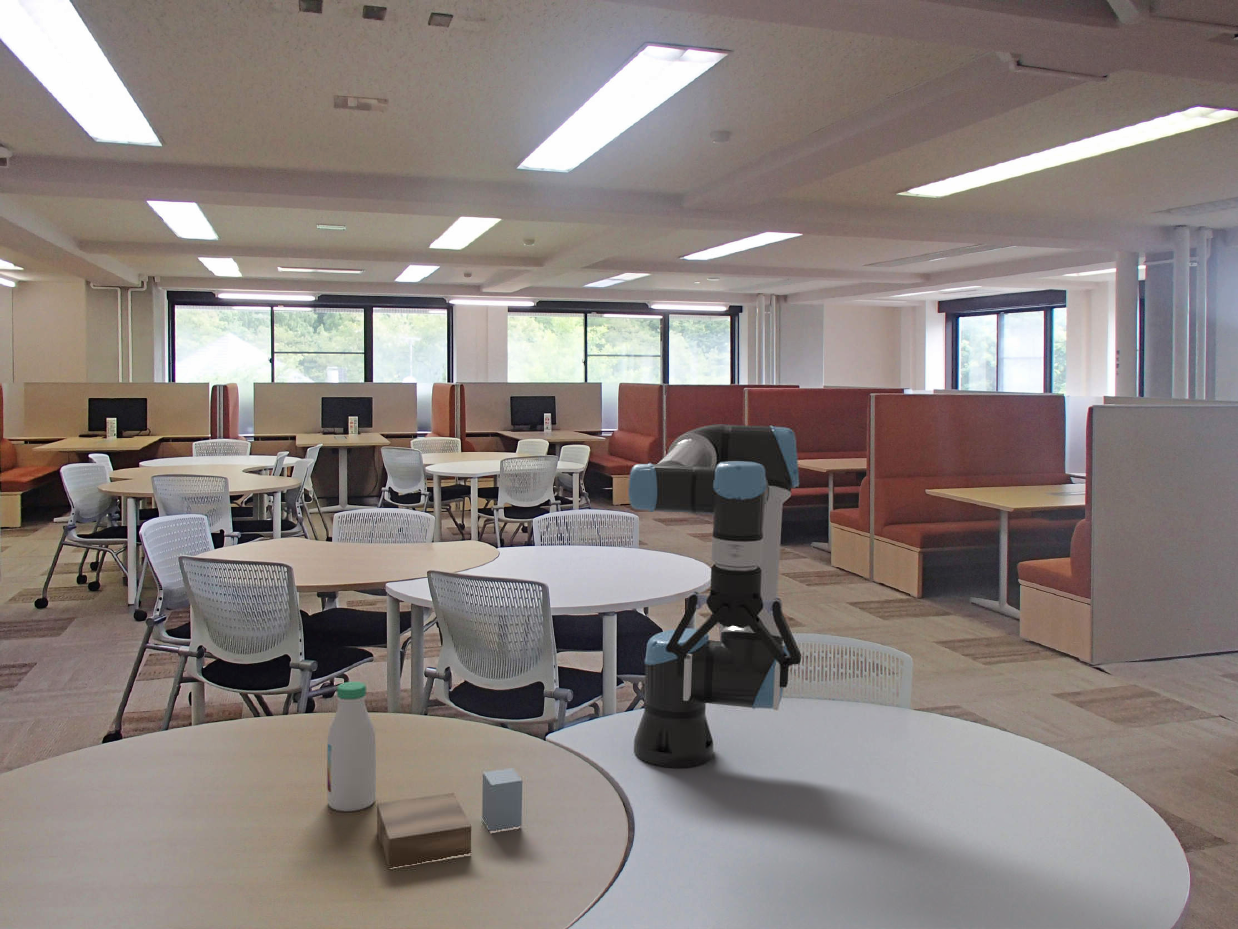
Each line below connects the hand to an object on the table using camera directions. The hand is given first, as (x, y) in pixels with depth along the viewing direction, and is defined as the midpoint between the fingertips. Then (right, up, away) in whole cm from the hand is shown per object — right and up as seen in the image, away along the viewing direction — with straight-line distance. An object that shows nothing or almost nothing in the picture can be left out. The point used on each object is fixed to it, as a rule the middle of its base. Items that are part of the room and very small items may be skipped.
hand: (731, 702), depth 150 cm
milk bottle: (-61, -20, +13) cm, 66 cm away
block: (-36, -21, +7) cm, 42 cm away
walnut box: (-47, -22, 0) cm, 52 cm away
